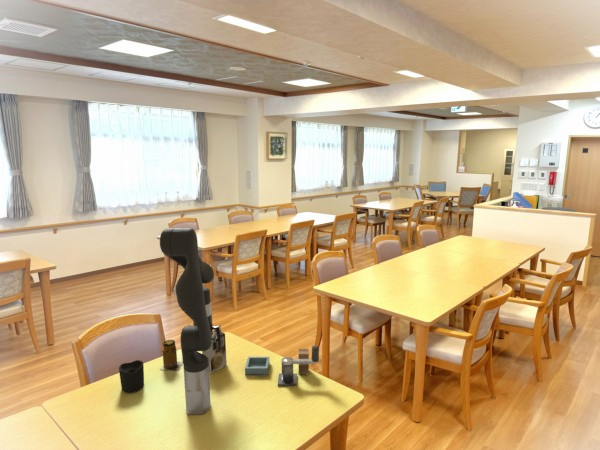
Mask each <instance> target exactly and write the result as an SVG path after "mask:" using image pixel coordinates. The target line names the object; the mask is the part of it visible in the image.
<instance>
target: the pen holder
mask: <svg viewBox="0 0 600 450" xmlns="http://www.w3.org/2000/svg"><path fill="white" fill-rule="evenodd" d="M144 369H145V368H144V362H143V361H142V360H139V359H135V360H133V361H132V362H124V363H121V364H120V365H119V367H118V371H119V380H120V386H121V391H122V392H123V393H125V394H134V393H136V392H139V391H141V390H143V388H144V386H145V373H144V372H145V371H144Z"/></svg>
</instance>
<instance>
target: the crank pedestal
mask: <svg viewBox="0 0 600 450" xmlns="http://www.w3.org/2000/svg"><path fill="white" fill-rule="evenodd" d="M277 378H278V380H277V387H297V384H298V382H297V380H298V373H294V364H293V365H291V366H284V365H282V364H281V373H278V377H277Z"/></svg>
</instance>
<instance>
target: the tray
mask: <svg viewBox="0 0 600 450" xmlns="http://www.w3.org/2000/svg"><path fill="white" fill-rule="evenodd" d="M269 367H270V356H247V358H246V363H245V365H244V376H245V377H246V376H253V377H254V376H255V377H256V376H266V377H267V376H269V375H268V374H269V370H270V368H269Z"/></svg>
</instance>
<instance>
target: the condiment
mask: <svg viewBox="0 0 600 450" xmlns="http://www.w3.org/2000/svg"><path fill="white" fill-rule="evenodd" d="M161 351H162V362H163V365H162V367H161V368H160V371H178V370H180V369H181V367H182V366H183V361H178V357H177V356H178V355H177V354H178V353H177V345H176V341H175V340H174V339H166V340H164V341H163V343H162V350H161Z"/></svg>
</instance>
